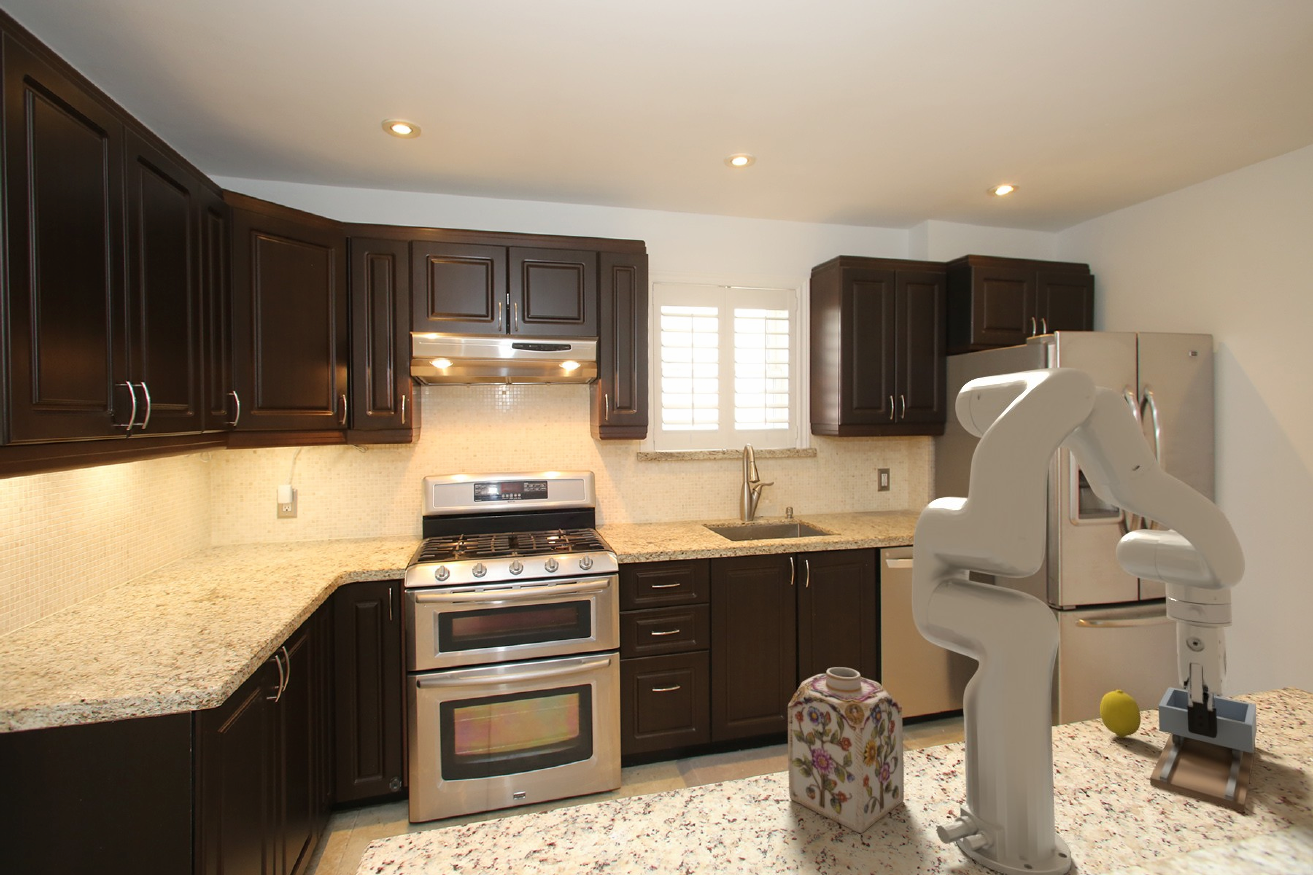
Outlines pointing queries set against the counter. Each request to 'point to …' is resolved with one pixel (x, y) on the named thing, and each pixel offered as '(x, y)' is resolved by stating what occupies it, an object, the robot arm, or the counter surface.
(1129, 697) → the lemon
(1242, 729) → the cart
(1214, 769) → the track
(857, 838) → the counter surface
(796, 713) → the decorative jar
